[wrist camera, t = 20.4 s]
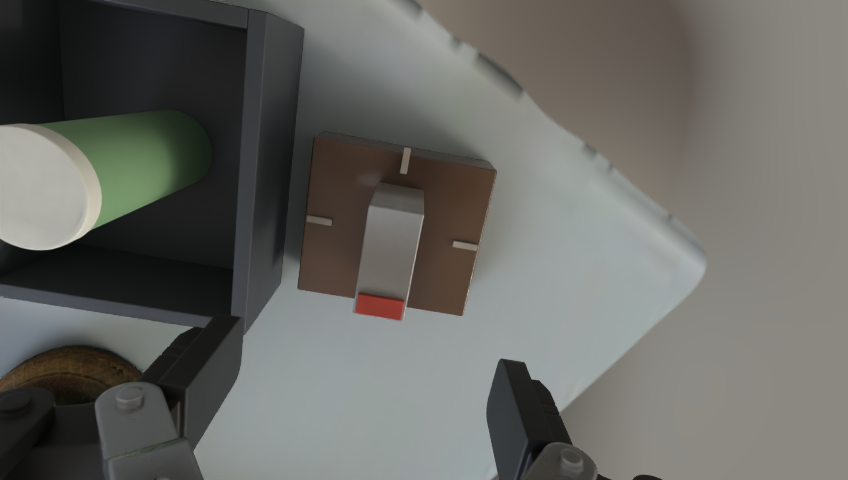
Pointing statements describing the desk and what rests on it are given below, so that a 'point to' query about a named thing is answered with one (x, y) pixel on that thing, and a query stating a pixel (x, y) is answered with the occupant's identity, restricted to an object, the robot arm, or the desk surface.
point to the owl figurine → (72, 374)
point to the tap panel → (348, 207)
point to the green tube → (93, 172)
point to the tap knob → (389, 251)
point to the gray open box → (151, 91)
